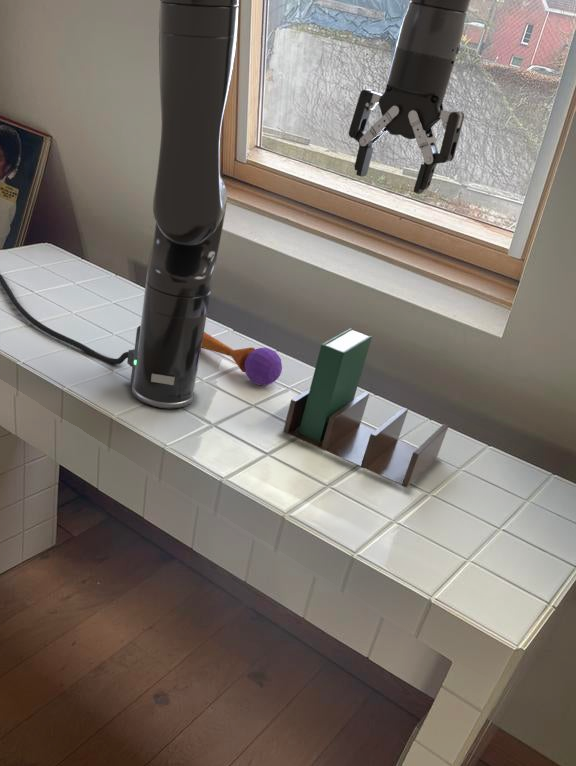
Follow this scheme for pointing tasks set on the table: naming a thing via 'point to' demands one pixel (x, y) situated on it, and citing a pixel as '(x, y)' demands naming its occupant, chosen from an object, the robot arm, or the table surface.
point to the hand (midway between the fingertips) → (389, 184)
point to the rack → (369, 440)
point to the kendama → (249, 360)
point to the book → (334, 380)
